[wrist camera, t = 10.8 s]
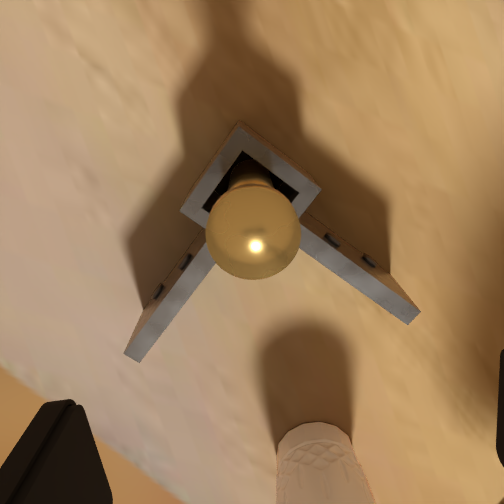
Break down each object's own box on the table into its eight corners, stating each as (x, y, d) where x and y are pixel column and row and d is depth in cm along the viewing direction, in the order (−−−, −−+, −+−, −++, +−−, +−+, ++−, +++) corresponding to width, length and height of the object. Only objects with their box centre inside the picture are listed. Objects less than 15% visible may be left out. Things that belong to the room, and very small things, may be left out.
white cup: (301, 401, 37) (321, 505, 28) (376, 438, 39) (419, 549, 29) (253, 464, 39) (256, 580, 30) (325, 496, 41) (350, 617, 32)
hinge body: (411, 251, 33) (446, 284, 27) (281, 394, 37) (288, 449, 31) (239, 119, 29) (238, 126, 24) (117, 294, 33) (91, 335, 28)
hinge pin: (290, 174, 31) (320, 225, 18) (256, 218, 32) (262, 296, 19) (244, 138, 30) (242, 168, 17) (210, 186, 31) (186, 245, 18)
